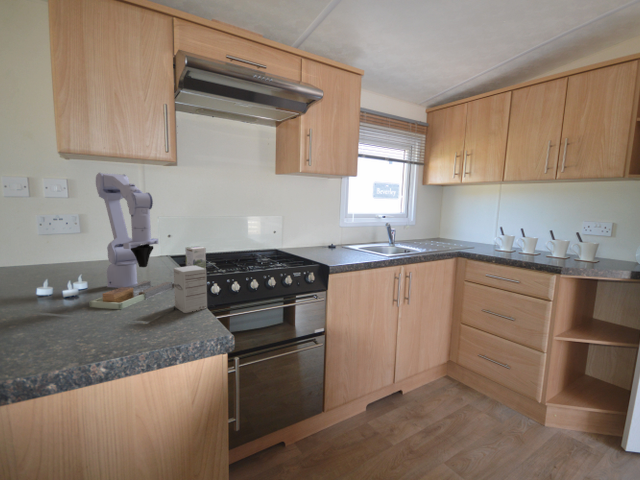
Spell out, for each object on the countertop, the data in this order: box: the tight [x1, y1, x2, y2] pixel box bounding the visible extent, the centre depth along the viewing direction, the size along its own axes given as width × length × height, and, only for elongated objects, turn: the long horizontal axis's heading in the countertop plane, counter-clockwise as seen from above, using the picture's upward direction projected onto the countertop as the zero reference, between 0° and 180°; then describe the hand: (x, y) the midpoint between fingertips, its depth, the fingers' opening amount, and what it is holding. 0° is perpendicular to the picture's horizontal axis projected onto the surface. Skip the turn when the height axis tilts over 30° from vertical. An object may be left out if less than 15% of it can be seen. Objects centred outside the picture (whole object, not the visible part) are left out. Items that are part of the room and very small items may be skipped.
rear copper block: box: [114, 287, 134, 301], centre depth 103 cm, size 4×4×4 cm
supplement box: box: [173, 265, 208, 314], centre depth 98 cm, size 7×7×13 cm
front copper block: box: [102, 289, 125, 303], centre depth 99 cm, size 4×4×4 cm
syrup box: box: [185, 245, 207, 270], centre depth 130 cm, size 6×6×14 cm
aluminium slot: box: [128, 280, 174, 300], centre depth 113 cm, size 12×14×3 cm
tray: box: [88, 294, 146, 310], centre depth 101 cm, size 11×11×2 cm
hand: (143, 266), depth 111 cm, fingers closed
